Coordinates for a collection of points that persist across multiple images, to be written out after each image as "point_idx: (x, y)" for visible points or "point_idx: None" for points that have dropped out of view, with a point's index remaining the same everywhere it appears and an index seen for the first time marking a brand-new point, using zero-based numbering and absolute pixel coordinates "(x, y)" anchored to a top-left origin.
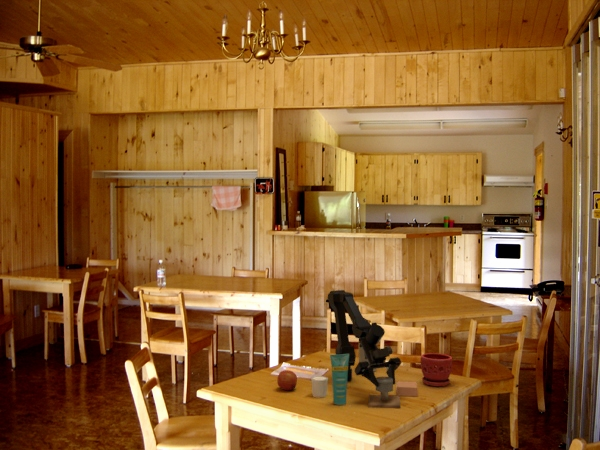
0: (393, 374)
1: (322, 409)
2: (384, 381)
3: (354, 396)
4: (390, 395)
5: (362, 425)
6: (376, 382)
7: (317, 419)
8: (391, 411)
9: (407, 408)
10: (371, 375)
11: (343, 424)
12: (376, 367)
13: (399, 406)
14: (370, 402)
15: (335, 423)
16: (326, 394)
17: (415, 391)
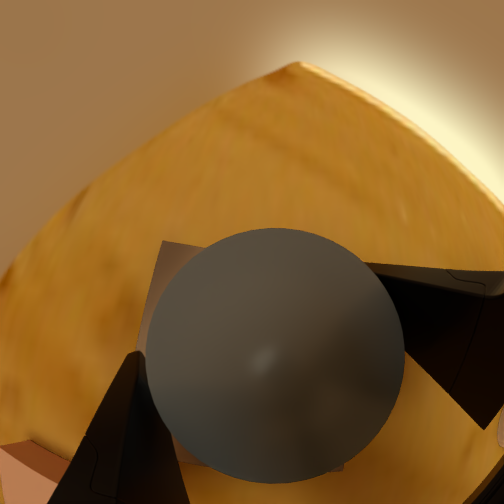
0: (103, 437)
1: (492, 256)
2: (296, 231)
3: (412, 457)
4: (188, 460)
5: (351, 106)
6: (383, 265)
7: (471, 175)
8: (229, 203)
9: (126, 243)
10: (479, 276)
11: (403, 125)
12: (490, 480)
13: (168, 245)
14: None
15: (424, 137)
16: (501, 425)
17: (20, 449)
